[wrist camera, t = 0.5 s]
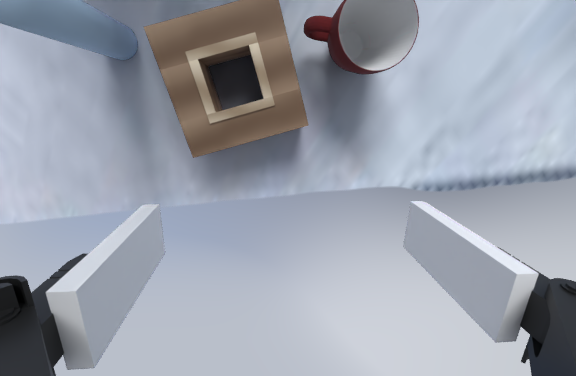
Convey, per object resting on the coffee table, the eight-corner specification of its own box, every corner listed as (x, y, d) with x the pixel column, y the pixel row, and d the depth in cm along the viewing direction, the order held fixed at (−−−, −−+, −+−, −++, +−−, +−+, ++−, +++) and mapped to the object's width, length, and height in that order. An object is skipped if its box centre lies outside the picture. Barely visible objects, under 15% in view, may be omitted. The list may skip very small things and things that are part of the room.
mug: (296, 77, 37) (308, 68, 27) (299, 7, 34) (314, -30, 25) (374, 81, 38) (412, 74, 28) (382, 13, 36) (426, -20, 26)
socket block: (163, 39, 34) (142, 26, 28) (273, 9, 34) (276, -11, 28) (203, 149, 38) (192, 158, 32) (301, 122, 38) (308, 125, 33)
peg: (96, 28, 33) (-44, -36, 18) (128, 19, 33) (16, -52, 18) (111, 63, 34) (-8, 32, 19) (142, 55, 34) (48, 16, 19)
